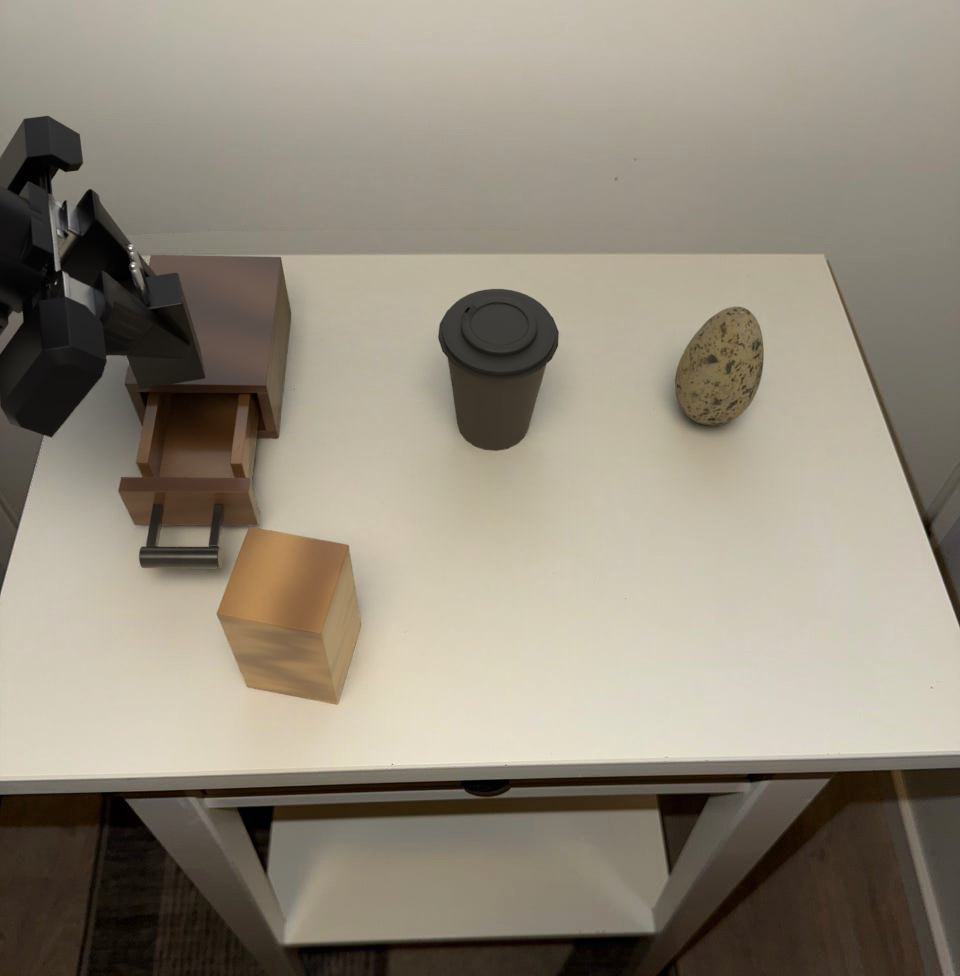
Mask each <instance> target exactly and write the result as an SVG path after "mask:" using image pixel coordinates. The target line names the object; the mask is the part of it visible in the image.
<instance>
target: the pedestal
mask: <svg viewBox="0 0 960 976" xmlns="http://www.w3.org/2000/svg"><path fill="white" fill-rule="evenodd" d="M236 557H237V558H236V560H235V563H234V566H233V568H232V571H231V573H230V576H229V579H228V582H227V585H226V587H225V590H224V592H223V595H222V598H221V600H220V603H219V606H218V608H217V611H216V616H217V619H218V621H219V624H220V626H221V628H222V630H223V633H224V636H225V637H226V641H227V643H228V645H229V648H230V650H231V652H232V655H233V657H234V659H235V661H236V664H237V667H238V669H239V671H240V674H241V676H242V679H243V681H244V683H245V686H246V688H250V689H255V690H261V691H266V692H270V693H277V694H281V695H282V694H283V695H285V696H292V697H297V698H303V699H308V700H312V701H318V702H323V703H328V704H333V705H338V704H339V702H340V699H341V696H342V692H343V688H344V686H345V682H346V678H347V675H348V671H349V668H350V665H351V661H352V657H353V654H354V651H355V648H356V645H357V640H358V637H359V634H360V631H361V626H362V621H361V613H360V609H359V601H358V595H357V590H356V584H355V583H356V582H355V576H354V570H353V564H352V557H351V550H350V545H349V544H346V543H341V542H335V541H331V540H326V539H319V538H314V537H308V536H304V535H299V534H291V533H287V532H282V531H275V530H270V529H264V528H259V527H253V526H248V528H247V531H246V534H245V536H244V539H243V542H242V545H241V546H240V550H239V552H238V555H237V556H236Z"/></svg>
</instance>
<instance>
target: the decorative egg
mask: <svg viewBox="0 0 960 976" xmlns="http://www.w3.org/2000/svg"><path fill="white" fill-rule="evenodd" d="M764 353H765V350H764V339H763V333H762V329H761V326H760V323H759V321H758V319H757V318H756V316H755V315H754V314H753V313H752V311H750V310H749V309H747V308H745V307H742V306H730V307H727V308H724V309H722V310H720V311H718V312H717V313H715V314H713V315H712V316H711V317H710V318H708V319H707V321H705V323H703V325H702V326H701V327H700V328H699V329H698V330H697V331H696V332H695V334H694V335H693V337H692V338H691V339H690V340H689V342H688V344H687V345H686V347H685V349H684V351H683V353H682V355H681V357H680V359H679V362H678V363H677V367H676V370H675V371H676V372H675V377H674V393H675V397H676V400H677V403H678V405H679V407H680V409H681V411H682V412H683V413H684V414H685V415H686V416H687V417H688V418H689V419H690V420H691V421H694V422H695V423H697V424H700V425H704V426H712V427H713V426H720V425H725V424H728V423H730V422H732V421H733V420H735V419H737V418H739V416H741V415H742V414H743V413H744V412H745V411H746V410H747V409H748V408H749V406H750V405H751V404H752V402H753V401H754V399H755V397H756V394H757V392H758V390H759V387H760V384H761V380H762V377H763V370H764V360H765V359H764V357H765V354H764Z"/></svg>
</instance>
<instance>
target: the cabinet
mask: <svg viewBox="0 0 960 976" xmlns="http://www.w3.org/2000/svg"><path fill="white" fill-rule="evenodd" d="M148 266H149V267H150V268H151V269H152V270H153V272H154V273H155V274H156V275H162V274H169V273H175V272H177V273H178V275H179V278H180V282H181V285H182V289H183V292H184V295H185V299H186V302H187V305H188V309H189V312H190V316H191V319H192V322H193V326H194V329H195V332H196V336H197V339H198V343H199V346H200V350H201V355H202V361H203V366H204V372H205V378H204V379H199V380H193V381H187V382H181V383H176V384H170V385H164V386H158V387H152V388H147V389H139V387H138V384H137V382H136V379H135V377H134V374H133V372H132V369H131V366H130V364H129V363H128V366H127V370H126V375H125V380H124V386H125V388H126V391H127V393H128V396H129V398H130V401H131V403H132V405H133V408H134V410H135V412H136V415H137V417H138V420H139V422H140V424H141V427H143V421H144V416H145V411H146V405H147V400H148V395H149V392H188V393H257V396H258V400H259V404H260V414H259V423H258V432H257V439H279V438H280V429H281V428H280V427H281V426H280V425H281V418H282V408H283V397H284V389H285V379H286V378H285V377H286V368H287V359H288V351H289V349H288V348H289V341H290V329H291V319H292V311H291V305H290V299H289V293H288V288H287V283H286V282H287V281H286V278H285V272H284V267H283V260H282V256H256V255H255V256H252V255H251V256H249V255H191V254H190V255H188V254H187V255H186V254H185V255H184V254H183V255H179V254H178V255H177V254H168V255H167V254H150V256H149V262H148Z"/></svg>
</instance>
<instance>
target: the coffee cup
mask: <svg viewBox="0 0 960 976" xmlns="http://www.w3.org/2000/svg"><path fill="white" fill-rule="evenodd" d="M559 334H560V331H559V329H558V326H557V324H556V322H555V319H554V317H553V316H552V315H551V313H550V312H549V310H548V308H546V307H545V306H544V305H543V304H542V303H541V302H539V301H538V300H536V299H535V298H533V297H531V296H530V295H528V294H525V293H522V292H520V291H517V290H512V289H505V288H487V289H481V290H476V291H474V292H471V293H469V294H467V295H465V296H463V297H461V298H459V299H458V300H457V301H455V302H454V304H452V305H451V306H450V307H449V308H448V309H447V310H446V312H445V313H444V315H443V317H442V319H441V320H440V322H439V327H438V334H437V335H438V336H437V338H438V343H439V345H440V348H441V351H442V353H443V354H444V355H445V357H446V358H447V363H448V369H449V370H448V371H449V375H450V377H449V378H450V383H451V390H452V396H453V403H454V409H455V416H456V417H455V418H456V423H457V426H458V430H459V433H460V435H461V436H462V437H463V439H464V440H465V441H466V442H467V443H468V444H471V445H472V446H474V447H476V448H478V449H483V450H484V451H502V450H507V449H510V448H512V447H514V446H516V445H518V444H519V443H520V442H521V441H522V440H523V439H524V438H525V436H526V434H527V432H528V430H529V427H530V424H531V420H532V417H533V413H534V410H535V406H536V402H537V400H538V395H539V393H540V389H541V386H542V382H543V379H544V374H545V371H546V367H547V364H548V363H550V362H551V360H553V357H554V355H555V353H556V352H557V350H558V347H559V336H560V335H559Z"/></svg>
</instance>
